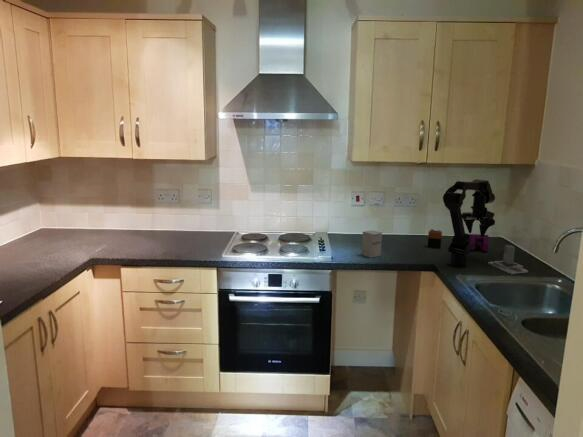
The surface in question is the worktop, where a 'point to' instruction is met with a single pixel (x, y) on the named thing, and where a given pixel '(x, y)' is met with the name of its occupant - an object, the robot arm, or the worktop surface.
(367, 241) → the pinkish brown cylinder
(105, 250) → the worktop surface
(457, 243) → the robot arm
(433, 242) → the battery
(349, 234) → the worktop surface
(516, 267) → the grey tray
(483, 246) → the mounting bracket
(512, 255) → the grey rectangular block
